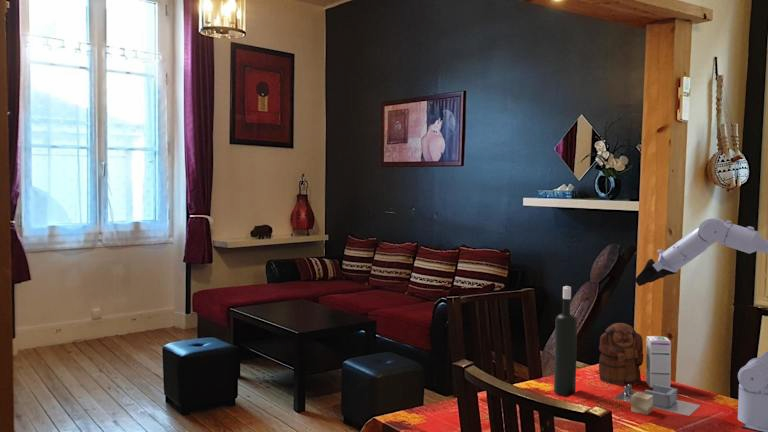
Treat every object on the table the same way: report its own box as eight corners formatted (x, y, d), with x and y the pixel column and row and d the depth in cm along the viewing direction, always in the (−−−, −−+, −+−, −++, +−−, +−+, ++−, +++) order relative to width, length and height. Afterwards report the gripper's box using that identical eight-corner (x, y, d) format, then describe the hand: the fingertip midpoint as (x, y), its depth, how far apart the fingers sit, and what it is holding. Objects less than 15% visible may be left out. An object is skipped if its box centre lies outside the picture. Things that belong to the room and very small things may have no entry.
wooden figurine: (607, 388, 181) (608, 326, 180) (596, 381, 188) (598, 321, 187) (645, 387, 183) (647, 325, 182) (634, 380, 189) (635, 320, 188)
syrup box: (671, 392, 179) (672, 341, 178) (648, 390, 180) (650, 340, 179) (666, 385, 184) (667, 336, 184) (644, 384, 186) (646, 335, 185)
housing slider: (677, 399, 168) (677, 388, 168) (668, 407, 163) (668, 395, 163) (653, 394, 172) (654, 383, 172) (644, 401, 167) (644, 390, 167)
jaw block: (652, 414, 161) (653, 395, 161) (647, 419, 158) (647, 399, 158) (636, 410, 164) (637, 391, 164) (630, 415, 161) (631, 395, 161)
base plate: (700, 408, 166) (700, 395, 165) (689, 419, 158) (689, 405, 158) (627, 392, 178) (627, 380, 178) (613, 401, 170) (613, 389, 170)
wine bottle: (554, 395, 175) (557, 287, 174) (553, 388, 181) (555, 284, 179) (576, 396, 174) (579, 288, 173) (574, 390, 180) (576, 285, 178)
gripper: (682, 237, 171) (642, 266, 178) (664, 240, 160) (622, 271, 167) (699, 258, 168) (658, 287, 175) (683, 263, 157) (640, 294, 165)
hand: (642, 281), depth 171 cm, fingers open, 7 cm apart
